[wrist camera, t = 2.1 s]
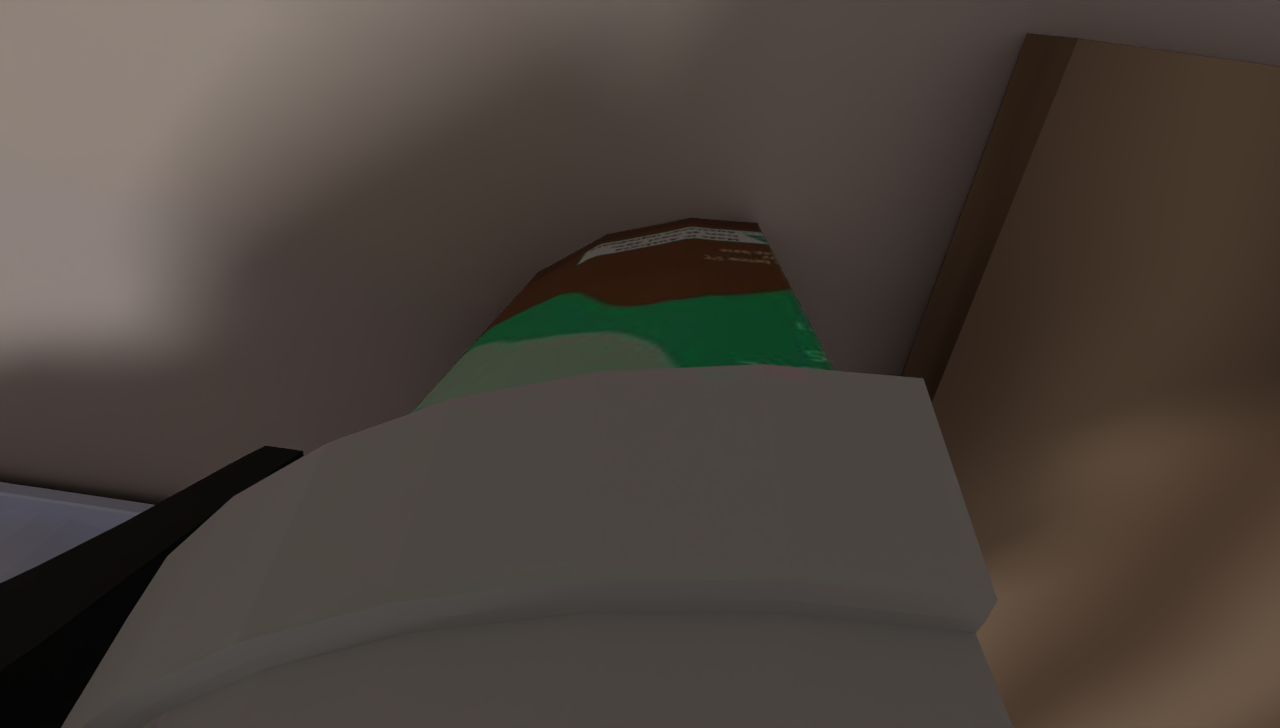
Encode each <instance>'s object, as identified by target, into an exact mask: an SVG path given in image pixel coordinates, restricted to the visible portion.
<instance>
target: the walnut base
mask: <svg viewBox="0 0 1280 728" xmlns="http://www.w3.org/2000/svg"><path fill="white" fill-rule="evenodd" d="M902 377H913V378H923V379H924V382H925V385H926V388H927V391H928V394H929V397H930V400H931V403H932V406H933V409H934V412H935V415H936V418H937V421H938V424H939V427H940V430H941V433H942V436H943V439H944V442H945V445H946V448H947V451H948V454H949V457H950V460H951V463H952V466H953V469H954V471H955V474H956V477H957V480H958V483H959V486H960V489H961V492H962V495H963V498H964V501H965V504H966V507H967V510H968V513H969V516H970V519H971V522H972V525H973V528H974V531H975V534H976V537H977V540H978V543H979V546H980V549H981V552H982V555H983V558H984V561H985V564H986V567H987V570H988V573H989V576H990V579H991V582H992V585H993V588H994V591H995V594H996V597H997V600H998V601H997V603H996V604H995V606H994V608H993V610H992V612H991V613H990V615H989V617H988V619H987V620H986V622H985V623H984V624H983V625H982V626H981V627H980V629H979V630H978V631H977V632H976V636H977V638H978V641H979V643H980V646H981V648H982V651H983V653H984V656H985V658H986V661H987V663H988V666H989V668H990V671H991V673H992V676H993V678H994V681H995V683H996V686H997V688H998V691H999V693H1000V696H1001V698H1002V701H1003V703H1004V706H1005V708H1006V711H1007V713H1008V716H1009V718H1010V721H1011V723H1012V726H1013V728H1280V67H1278V66H1271V65H1264V64H1257V63H1250V62H1243V61H1236V60H1228V59H1221V58H1214V57H1207V56H1200V55H1193V54H1185V53H1178V52H1171V51H1164V50H1157V49H1150V48H1143V47H1135V46H1128V45H1121V44H1114V43H1107V42H1100V41H1092V40H1085V39H1078V38H1068V37H1058V36H1048V35H1038V34H1028V33H1027V36H1026V39H1025V41H1024V44H1023V47H1022V50H1021V52H1020V55H1019V58H1018V61H1017V63H1016V66H1015V69H1014V71H1013V74H1012V77H1011V80H1010V82H1009V85H1008V88H1007V91H1006V93H1005V96H1004V99H1003V101H1002V104H1001V107H1000V110H999V112H998V115H997V118H996V120H995V123H994V126H993V129H992V131H991V134H990V137H989V140H988V142H987V145H986V148H985V150H984V153H983V156H982V159H981V161H980V164H979V167H978V170H977V172H976V175H975V178H974V180H973V183H972V186H971V189H970V191H969V194H968V197H967V200H966V202H965V205H964V208H963V210H962V213H961V216H960V219H959V221H958V224H957V227H956V230H955V232H954V235H953V238H952V240H951V243H950V246H949V249H948V251H947V254H946V257H945V260H944V262H943V265H942V268H941V270H940V273H939V276H938V279H937V281H936V284H935V287H934V290H933V292H932V295H931V298H930V300H929V303H928V306H927V309H926V311H925V314H924V317H923V319H922V322H921V325H920V328H919V330H918V333H917V336H916V339H915V341H914V344H913V347H912V349H911V352H910V355H909V358H908V360H907V363H906V366H905V369H904V371H903V374H902Z"/></svg>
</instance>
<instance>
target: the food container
mask: <svg viewBox="0 0 1280 728" xmlns="http://www.w3.org/2000/svg"><path fill="white" fill-rule="evenodd" d="M997 601H998V600H997V597H996V594H995V591H994V588H993V585H992V582H991V579H990V576H989V573H988V570H987V567H986V564H985V561H984V558H983V555H982V552H981V549H980V546H979V543H978V540H977V537H976V534H975V531H974V528H973V525H972V522H971V519H970V516H969V513H968V510H967V507H966V504H965V501H964V498H963V495H962V492H961V489H960V486H959V483H958V480H957V477H956V474H955V471H954V469H953V466H952V463H951V460H950V457H949V454H948V451H947V448H946V445H945V442H944V439H943V436H942V433H941V430H940V427H939V424H938V421H937V418H936V415H935V412H934V409H933V406H932V403H931V400H930V397H929V394H928V391H927V388H926V385H925V382H924V379H923V378H913V377H902V376H890V375H879V374H868V373H856V372H845V371H834V369H833V367H832V365H831V363H830V361H829V359H828V357H827V355H826V353H825V352H824V350H823V348H822V346H821V344H820V342H819V340H818V338H817V336H816V334H815V332H814V331H813V329H812V327H811V325H810V323H809V321H808V319H807V317H806V315H805V313H804V311H803V309H802V308H801V306H800V304H799V302H798V300H797V298H796V296H795V294H794V292H793V290H792V288H791V287H790V285H789V283H788V281H787V279H786V277H785V275H784V273H783V271H782V269H781V267H780V266H779V264H778V262H777V260H776V258H775V256H774V254H773V252H772V250H771V248H770V246H769V244H768V243H767V241H766V239H765V237H764V235H763V233H762V231H761V229H760V227H759V225H758V223H749V222H736V221H723V220H710V219H698V218H689V219H683V220H678V221H673V222H668V223H663V224H658V225H653V226H648V227H643V228H637V229H632V230H627V231H622V232H617V233H612V234H607V235H605V236H603V237H601V238H599V239H598V240H596V241H594V242H592V243H591V244H589V245H587V246H585V247H583V248H582V249H580V250H578V251H576V252H574V253H573V254H571V255H569V256H567V257H565V258H564V259H562V260H560V261H558V262H556V263H555V264H553V265H551V266H549V267H547V268H546V269H544V270H542V271H540V272H538V273H537V274H536V275H535V277H534V278H533V279H532V280H531V281H530V282H529V283H528V284H527V285H526V286H525V288H524V289H523V290H522V291H521V292H520V293H519V294H518V295H517V296H516V298H515V299H514V300H513V301H512V302H511V303H510V304H509V305H508V306H507V308H506V309H505V310H504V311H503V312H502V313H501V314H500V315H499V316H498V318H497V319H496V320H495V321H494V322H493V323H492V324H491V325H490V326H489V328H488V329H487V330H486V331H485V332H484V333H483V334H482V335H481V336H480V337H479V339H478V340H477V341H476V342H475V343H474V344H473V345H472V346H471V347H470V349H469V350H468V351H467V352H466V353H465V354H464V355H463V356H462V357H461V359H460V360H459V361H458V362H457V363H456V364H455V365H454V366H453V367H452V369H451V370H450V371H449V372H448V373H447V374H446V375H445V376H444V377H443V379H442V380H441V381H440V382H439V383H438V384H437V385H436V386H435V387H434V388H433V390H432V391H431V392H430V393H429V394H428V395H427V396H426V397H425V398H424V400H423V401H422V402H421V403H420V404H419V405H418V406H417V407H416V408H415V410H414V411H413V412H412V413H410V414H407V415H404V416H401V417H398V418H395V419H393V420H390V421H387V422H384V423H381V424H378V425H376V426H373V427H370V428H367V429H364V430H361V431H359V432H356V433H353V434H350V435H347V436H344V437H341V438H339V439H336V440H333V441H330V442H328V443H326V444H324V445H322V446H321V447H319V448H317V449H315V450H314V451H312V452H310V453H308V454H307V455H305V456H303V457H301V458H300V459H298V460H296V461H294V462H293V463H291V464H289V465H287V466H286V467H284V468H282V469H280V470H279V471H277V472H275V473H273V474H272V475H270V476H268V477H266V478H265V479H263V480H261V481H259V482H258V483H256V484H254V485H252V486H251V487H249V488H247V489H246V490H244V491H242V492H240V493H239V494H237V495H235V496H233V497H232V498H231V499H230V500H229V501H228V502H227V503H226V504H224V505H223V506H222V507H221V508H220V509H219V510H218V511H217V512H216V513H215V514H213V515H212V516H211V517H210V518H209V519H208V520H207V521H206V522H205V523H203V524H202V525H201V526H200V527H199V528H198V529H197V530H196V531H195V532H194V533H192V534H191V535H190V536H189V537H188V538H187V539H186V540H185V541H184V542H183V543H181V544H180V545H179V546H178V547H177V548H176V549H175V550H174V551H173V552H172V553H170V554H169V555H168V556H167V558H166V559H165V561H164V562H163V564H162V565H161V567H160V568H159V570H158V571H157V573H156V575H155V576H154V578H153V579H152V581H151V582H150V584H149V585H148V587H147V588H146V590H145V592H144V593H143V595H142V596H141V598H140V599H139V601H138V602H137V604H136V605H135V607H134V609H133V610H132V612H131V613H130V615H129V616H128V618H127V619H126V621H125V623H124V624H123V626H122V628H121V629H120V631H119V633H118V634H117V636H116V638H115V639H114V641H113V643H112V644H111V646H110V648H109V649H108V651H107V652H106V654H105V656H104V657H103V659H102V661H101V662H100V664H99V666H98V667H97V669H96V671H95V672H94V674H93V676H92V677H91V679H90V681H89V682H88V684H87V686H86V687H85V689H84V690H83V692H82V694H81V695H80V697H79V699H78V700H77V702H76V704H75V705H74V707H73V709H72V710H71V712H70V714H69V715H68V717H67V719H66V720H65V722H64V723H63V725H62V727H61V728H1013V726H1012V723H1011V721H1010V718H1009V716H1008V713H1007V711H1006V708H1005V706H1004V703H1003V701H1002V698H1001V696H1000V693H999V691H998V688H997V686H996V683H995V681H994V678H993V676H992V673H991V671H990V668H989V666H988V663H987V661H986V658H985V656H984V653H983V651H982V648H981V646H980V643H979V641H978V638H977V636H976V632H977V631H978V630H979V629H980V627H981V626H982V625H983V624H984V623H985V622H986V620H987V619H988V617H989V615H990V613H991V612H992V610H993V608H994V606H995V604H996V603H997Z"/></svg>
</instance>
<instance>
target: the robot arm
mask: <svg viewBox="0 0 1280 728" xmlns="http://www.w3.org/2000/svg"><path fill="white" fill-rule="evenodd" d="M303 456H304V455H303V451H298V450H292V449H285V448H278V447H271V446H264V447H262V448H260V449H258V450H256V451H254V452H252V453H250V454H248V455H246V456H244V457H242V458H240V459H239V460H237V461H235V462H233V463H231V464H229V465H227V466H226V467H224V468H222V469H220V470H218V471H217V472H215V473H213V474H211V475H209V476H207V477H206V478H204V479H202V480H200V481H198V482H197V483H195V484H193V485H191V486H189V487H188V488H186V489H184V490H182V491H180V492H178V493H177V494H175V495H173V496H171V497H169V498H167V499H166V500H164V501H162V502H160V503H158V504H156V505H153V504H146V503H139V502H133V501H126V500H119V499H112V498H106V497H99V496H92V495H85V494H78V493H72V492H65V491H58V490H51V489H45V488H38V487H31V486H24V485H18V484H11V483H4V482H0V728H61V727H62V725H63V723H64V722H65V720H66V719H67V717H68V715H69V714H70V712H71V710H72V709H73V707H74V705H75V704H76V702H77V700H78V699H79V697H80V695H81V694H82V692H83V690H84V689H85V687H86V686H87V684H88V682H89V681H90V679H91V677H92V676H93V674H94V672H95V671H96V669H97V667H98V666H99V664H100V662H101V661H102V659H103V657H104V656H105V654H106V652H107V651H108V649H109V648H110V646H111V644H112V643H113V641H114V639H115V638H116V636H117V634H118V633H119V631H120V629H121V628H122V626H123V624H124V623H125V621H126V619H127V618H128V616H129V615H130V613H131V612H132V610H133V609H134V607H135V605H136V604H137V602H138V601H139V599H140V598H141V596H142V595H143V593H144V592H145V590H146V588H147V587H148V585H149V584H150V582H151V581H152V579H153V578H154V576H155V575H156V573H157V571H158V570H159V568H160V567H161V565H162V564H163V562H164V561H165V559H166V558H167V556H168V555H169V554H170V553H172V552H173V551H174V550H175V549H176V548H177V547H178V546H179V545H180V544H181V543H183V542H184V541H185V540H186V539H187V538H188V537H189V536H190V535H191V534H192V533H194V532H195V531H196V530H197V529H198V528H199V527H200V526H201V525H202V524H203V523H205V522H206V521H207V520H208V519H209V518H210V517H211V516H212V515H213V514H215V513H216V512H217V511H218V510H219V509H220V508H221V507H222V506H223V505H224V504H226V503H227V502H228V501H229V500H230V499H231V498H232V497H233V496H235V495H237V494H239V493H240V492H242V491H244V490H246V489H247V488H249V487H251V486H252V485H254V484H256V483H258V482H259V481H261V480H263V479H265V478H266V477H268V476H270V475H272V474H273V473H275V472H277V471H279V470H280V469H282V468H284V467H286V466H287V465H289V464H291V463H293V462H294V461H296V460H298V459H300V458H301V457H303Z"/></svg>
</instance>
